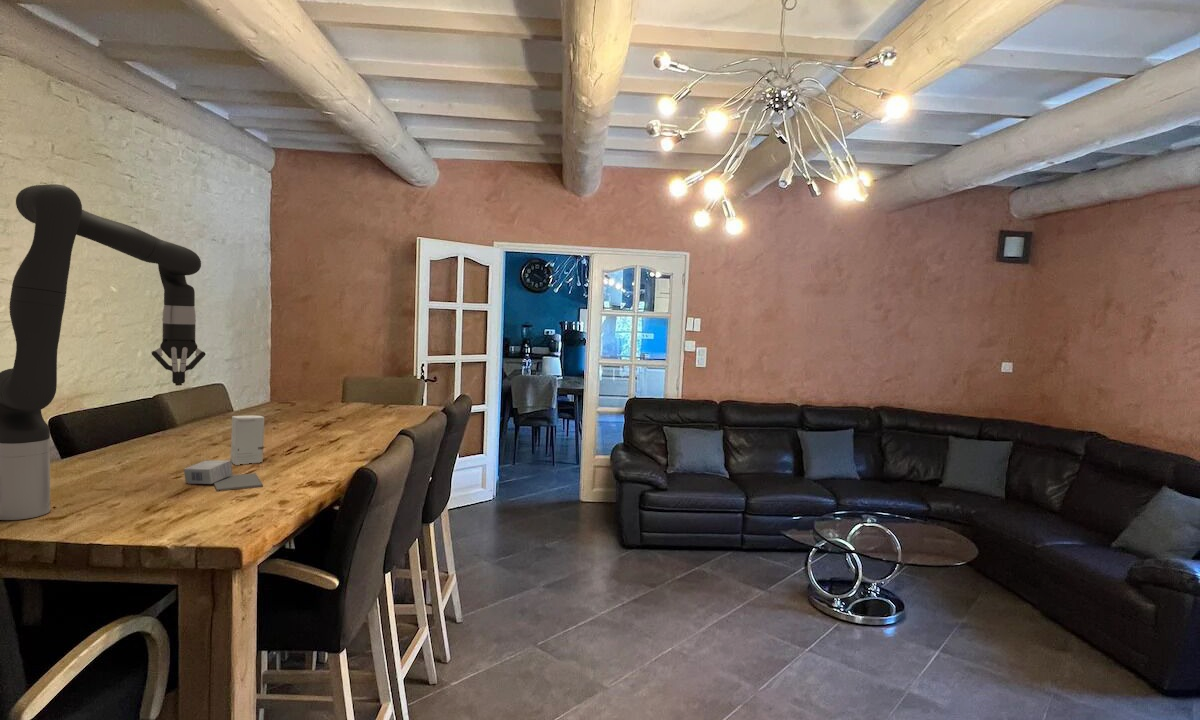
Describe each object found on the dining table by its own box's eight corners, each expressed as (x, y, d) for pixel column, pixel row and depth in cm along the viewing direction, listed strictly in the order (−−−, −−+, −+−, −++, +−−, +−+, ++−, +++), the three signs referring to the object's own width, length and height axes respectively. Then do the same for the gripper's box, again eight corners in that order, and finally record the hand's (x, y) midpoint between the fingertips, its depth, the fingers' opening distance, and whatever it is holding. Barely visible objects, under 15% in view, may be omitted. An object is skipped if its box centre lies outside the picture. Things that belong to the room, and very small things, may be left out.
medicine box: (210, 484, 173) (233, 475, 181) (209, 468, 172) (231, 459, 181) (184, 484, 174) (208, 474, 182) (183, 468, 173) (206, 459, 182)
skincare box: (234, 465, 196) (235, 418, 195) (229, 462, 200) (230, 415, 199) (264, 462, 201) (265, 416, 200) (258, 459, 206) (259, 413, 205)
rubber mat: (216, 491, 168) (216, 489, 168) (211, 479, 180) (211, 477, 180) (262, 486, 175) (262, 484, 175) (255, 475, 186) (255, 473, 186)
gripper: (149, 321, 166) (149, 387, 167) (208, 323, 174) (207, 386, 175) (149, 321, 172) (149, 384, 173) (206, 322, 180) (205, 383, 181)
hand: (178, 385), depth 174 cm, fingers closed
